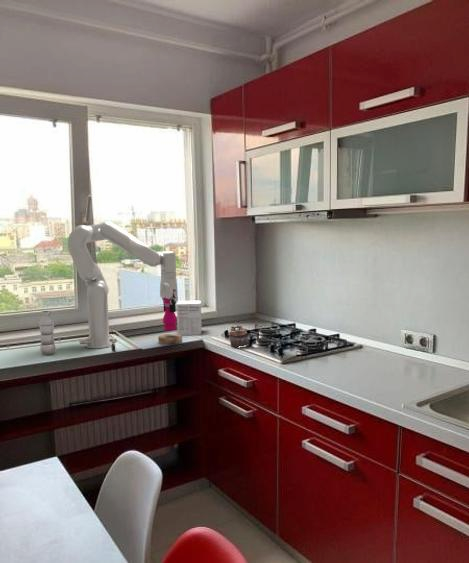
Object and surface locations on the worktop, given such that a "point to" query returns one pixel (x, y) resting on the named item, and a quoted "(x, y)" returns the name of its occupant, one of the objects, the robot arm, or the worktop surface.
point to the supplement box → (189, 317)
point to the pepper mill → (169, 317)
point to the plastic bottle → (47, 334)
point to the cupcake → (238, 336)
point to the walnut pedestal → (170, 339)
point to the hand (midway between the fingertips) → (169, 311)
